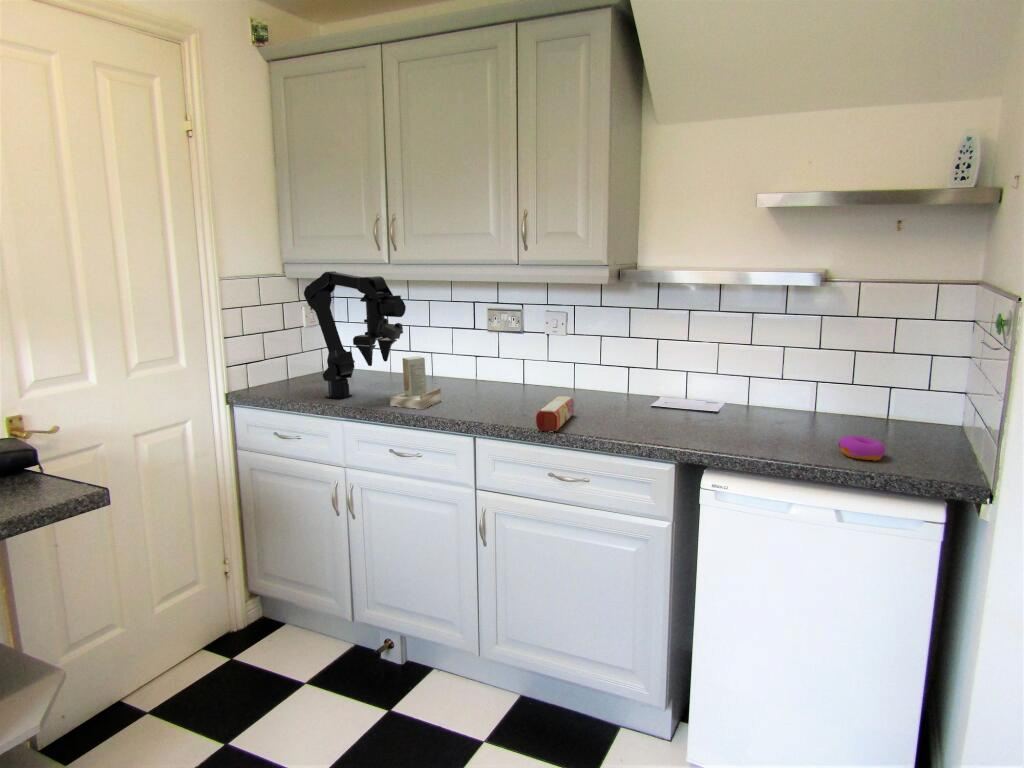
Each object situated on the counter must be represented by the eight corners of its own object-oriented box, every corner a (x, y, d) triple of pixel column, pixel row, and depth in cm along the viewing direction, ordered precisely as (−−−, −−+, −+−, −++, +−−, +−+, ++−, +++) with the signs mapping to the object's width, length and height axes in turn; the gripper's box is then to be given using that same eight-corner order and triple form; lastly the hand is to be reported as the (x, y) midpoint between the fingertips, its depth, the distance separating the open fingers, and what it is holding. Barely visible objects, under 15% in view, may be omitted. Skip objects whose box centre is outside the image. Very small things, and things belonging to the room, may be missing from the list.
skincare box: (420, 392, 231) (419, 355, 229) (427, 394, 228) (425, 357, 225) (403, 394, 228) (401, 357, 225) (409, 396, 224) (407, 359, 222)
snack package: (554, 414, 214) (554, 393, 213) (575, 416, 212) (576, 394, 211) (534, 432, 194) (535, 408, 193) (558, 434, 192) (558, 410, 191)
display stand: (390, 406, 225) (390, 392, 224) (409, 398, 236) (408, 385, 235) (423, 409, 221) (422, 395, 220) (440, 401, 232) (440, 388, 231)
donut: (886, 464, 164) (888, 446, 163) (838, 460, 168) (840, 442, 167) (881, 452, 174) (883, 434, 173) (836, 448, 177) (838, 431, 176)
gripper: (381, 319, 214) (383, 369, 217) (411, 313, 231) (413, 360, 234) (350, 318, 218) (353, 367, 221) (382, 312, 235) (385, 358, 238)
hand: (377, 363), depth 228 cm, fingers open, 9 cm apart
